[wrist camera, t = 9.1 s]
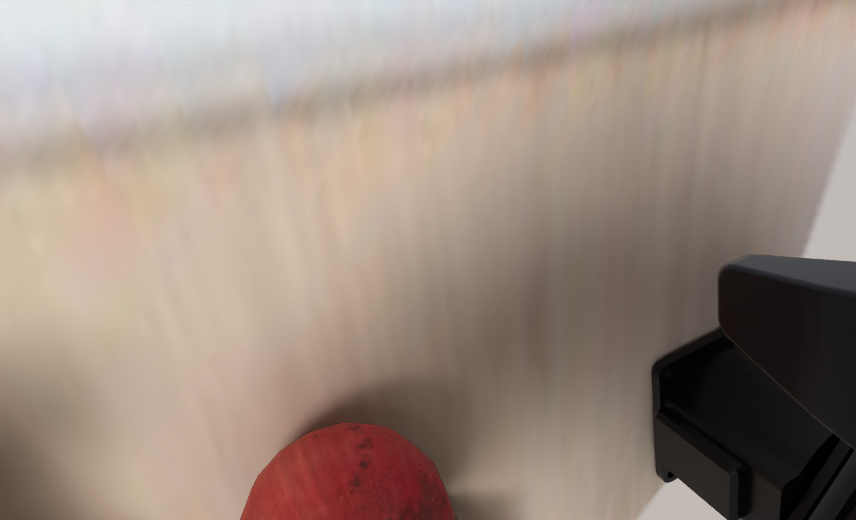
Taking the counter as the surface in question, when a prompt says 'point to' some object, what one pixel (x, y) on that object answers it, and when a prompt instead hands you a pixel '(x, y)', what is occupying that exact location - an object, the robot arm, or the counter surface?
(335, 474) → the onion
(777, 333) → the robot arm
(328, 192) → the counter surface
